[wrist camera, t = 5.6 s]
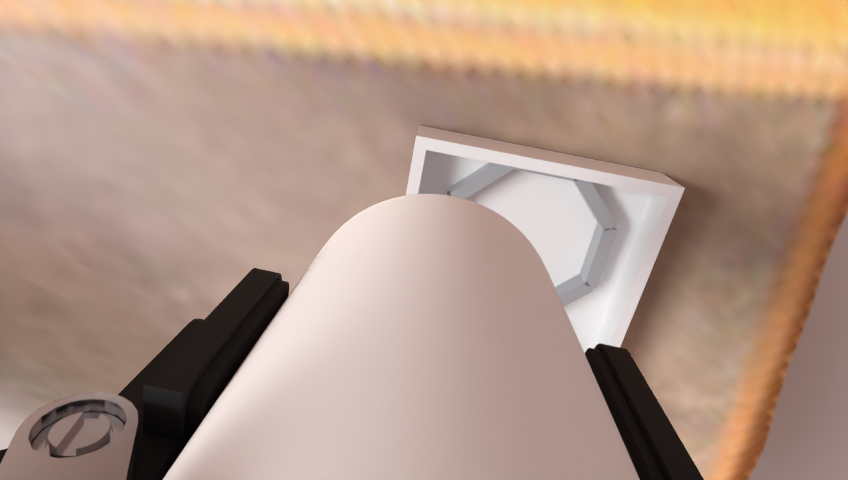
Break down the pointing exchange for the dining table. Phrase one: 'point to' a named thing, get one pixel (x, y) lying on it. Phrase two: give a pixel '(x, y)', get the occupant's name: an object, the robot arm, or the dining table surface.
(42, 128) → the dining table surface
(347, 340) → the can
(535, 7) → the dining table surface
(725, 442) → the dining table surface
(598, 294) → the housing
